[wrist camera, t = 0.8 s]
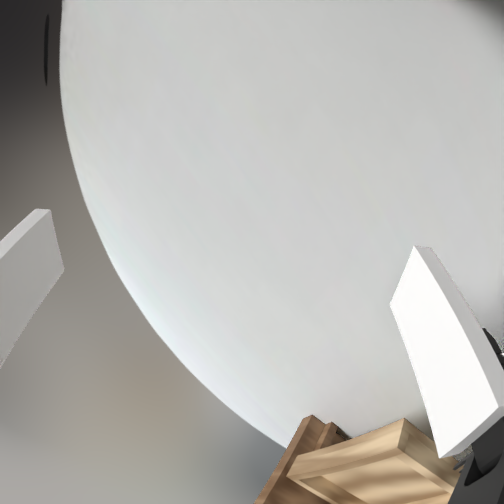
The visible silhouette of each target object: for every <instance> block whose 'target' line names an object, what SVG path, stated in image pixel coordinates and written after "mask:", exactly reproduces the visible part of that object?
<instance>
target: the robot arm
mask: <svg viewBox="0 0 504 504" xmlns="http://www.w3.org/2000/svg"><path fill="white" fill-rule="evenodd" d="M64 270H65V269H64V266H63V263H62V258H61V254H60V250H59V247H58V243H57V238H56V234H55V229H54V224H53V220H52V215H51V210H47V209H35V210H34V211H33V212H31V214H29V215H28V216H27V217H26V218H25V219H24V220H23V221H21V222H20V223H19V224H18V225H17V226H16V227H15V228H14V229H13V230H12V231H11V232H10V233H9V234H8V235H7V236H5V238H3V239H2V240H1V241H0V368H1V366H2V365H3V363H4V361H5V360H6V358H7V356H8V355H9V353H10V351H11V350H12V348H13V346H14V345H15V343H16V341H17V339H18V338H19V336H20V335H21V333H22V332H23V330H24V328H25V327H26V325H27V324H28V322H29V321H30V319H31V318H32V316H33V315H34V313H35V311H36V310H37V308H38V307H39V306H40V304H41V303H42V301H43V300H44V298H45V297H46V295H47V294H48V292H49V291H50V290H51V288H52V287H53V285H54V284H55V283H56V281H57V280H58V278H59V277H60V276H61V275H62V273H63V272H64ZM390 307H391V309H392V312H393V314H394V317H395V320H396V322H397V325H398V328H399V330H400V333H401V336H402V338H403V341H404V344H405V347H406V350H407V352H408V355H409V358H410V361H411V364H412V367H413V370H414V373H415V376H416V379H417V382H418V385H419V388H420V392H421V395H422V398H423V401H424V405H425V408H426V411H427V415H428V418H429V422H430V425H431V429H432V433H433V437H434V440H435V444H436V448H437V452H438V456H439V459H440V458H444V457H449V456H453V455H457V454H459V453H461V452H462V451H463V450H465V449H466V448H467V447H468V446H470V445H472V449H473V452H472V453H470V454H469V455H468V456H466V457H465V458H464V459H462V460H461V461H459V462H458V463H457V464H456V465H455V466H454V468H453V470H457V469H458V468H459V467H461V466H462V465H464V464H465V465H464V467H463V469H462V470H460V471H459V473H460V477H459V479H458V481H457V484H456V486H455V488H454V490H453V493H452V495H451V497H450V499H449V501H448V503H447V504H504V356H503V355H502V354H501V353H502V352H501V350H500V348H499V346H498V344H497V342H496V341H495V339H494V338H493V337H492V336H491V335H490V334H489V333H488V332H487V330H486V329H485V328H481V326H480V324H479V322H478V321H477V319H476V317H475V316H474V314H473V312H472V310H471V309H470V307H469V305H468V304H467V302H466V300H465V299H464V297H463V295H462V294H461V292H460V291H459V289H458V287H457V286H456V284H455V283H454V281H453V280H452V278H451V276H450V275H449V273H448V272H447V270H446V269H445V267H444V266H443V264H442V263H441V261H440V260H439V258H438V257H437V255H436V254H435V253H434V251H433V250H432V248H429V247H421V246H414V247H413V250H412V252H411V255H410V257H409V260H408V262H407V265H406V267H405V270H404V272H403V275H402V277H401V279H400V282H399V284H398V286H397V289H396V291H395V293H394V296H393V298H392V300H391V302H390Z"/></svg>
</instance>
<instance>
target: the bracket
mask: <svg viewBox="0 0 504 504" xmlns="http://www.w3.org/2000/svg"><path fill="white" fill-rule="evenodd" d="M337 428H338V426H336V425H335V424H334V423H332V422H331V423H328V424H326V425H325V424H324V423H322V422H321V421H320V420H318V419H317V418H316V417H314V416H313V415H311V416H308V417H306V418H304V419H303V420H302V422H301V423H300V425H299V427H298V429H297V431H296V433H295V435H294V437H293V438H292V440H291V442H290V444H289V446H288V447H287V449H286V451H285V453H284V455H283V456H282V458H281V460H280V461H279V463H278V465H277V467H276V469H275V470H274V472H273V473H272V475H271V477H270V478H269V480H268V482H267V483H266V485H265V487H264V488H263V490H262V492H261V493H260V495H259V496H258V498H257V499H256V501H255V503H254V504H447V503H448V501H449V499H450V497H451V495H452V493H453V490H454V488H455V486H456V484H457V481H458V479H459V477H460V473H459V471H460V470H462V469H463V467H464V465H462V466H461V467H459V468H458V469H457V470H453V468H454V466H455V465H456V464H457V463H458V462H459V461H457V460H456V459H455V458H453V457H452V456H449V457H444V458H440V459H439V456H438V452H437V448H436V444H435V442H433V441H432V440H431V439H430V438H428V437H427V436H426V435H425V434H424V433H422V432H421V431H420V430H419V429H417V428H416V427H415V426H414V425H412V424H411V423H410V422H409V421H408V420H406V419H405V418H403V419H401V420H398V421H396V422H394V423H391V424H389V425H387V426H384V427H382V428H379V429H377V430H374V431H371V432H369V433H366V434H364V435H361V436H358V437H355V438H353V439H350V440H345V439H344V438H343V437H341V436H340V435H338V434H337V433H336V431H337Z"/></svg>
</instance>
